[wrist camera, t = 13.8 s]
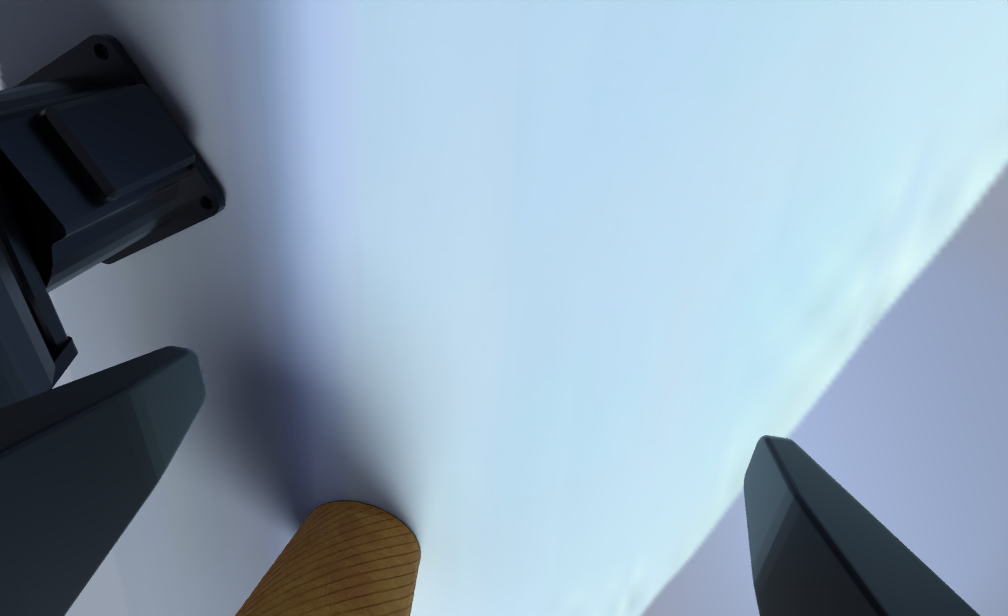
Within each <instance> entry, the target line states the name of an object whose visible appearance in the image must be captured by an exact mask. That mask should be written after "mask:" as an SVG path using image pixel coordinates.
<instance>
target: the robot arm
mask: <svg viewBox="0 0 1008 616" xmlns="http://www.w3.org/2000/svg"><path fill="white" fill-rule="evenodd" d="M103 45H104V46H105V47H106V48H107V50H108V52H109V57H108V56H107V55H106V54H105V53H104V51H103ZM206 197H208V198H209V199H210V200H211V201H212V203H213V205H210V204H209V203H208V202H207V200H206ZM224 207H225V199H224V196H223V194H222V193H221V191H220V190H219V188H218V187H217V185H216V184H215V182H214V181H213V179H212V178H211V177H210V175H209V174H208V172H207V171H206V169H205V168H204V166H203V165H202V163H201V162H200V160H199V159H198V157H197V156H196V154H195V153H194V151H193V150H192V148H191V147H190V145H189V144H188V143H187V141H186V140H185V138H184V137H183V135H182V134H181V132H180V131H179V129H178V128H177V126H176V125H175V123H174V122H173V120H172V119H171V117H170V116H169V114H168V113H167V111H166V110H165V109H164V107H163V106H162V104H161V103H160V101H159V100H158V98H157V97H156V95H155V94H154V92H153V91H152V89H151V88H150V86H149V85H148V83H147V82H146V80H145V79H144V77H143V76H142V75H141V73H140V72H139V70H138V69H137V67H136V66H135V64H134V63H133V61H132V60H131V58H130V57H129V55H128V54H127V52H126V51H125V49H124V48H123V46H122V45H121V44H120V42H119V41H118V40H117V39H116V38H115V37H113V36H111V35H109V34H98V35H93V36H90V37H89V38H87V39H86V40H84V41H83V42H81V43H80V44H78V45H77V46H75V47H74V48H72V49H71V50H69V51H68V52H66V53H65V54H63V55H62V56H60V57H59V58H57V59H56V60H54V61H53V62H51V63H50V64H48V65H47V66H45V67H44V68H42V69H41V70H39V71H38V72H36V73H35V74H33V75H32V76H30V77H29V78H27V79H26V80H24V81H23V82H21V83H20V84H18V85H17V86H15V87H14V88H10V89H5V90H1V91H0V616H65V614H66V613H67V611H68V610H69V608H70V607H71V606H72V604H73V603H74V601H75V600H76V599H77V597H78V596H79V594H80V593H81V591H82V590H83V589H84V587H85V586H86V584H87V583H88V581H89V580H90V579H91V577H92V576H93V575H94V573H95V572H96V570H97V569H98V567H99V566H100V565H101V563H102V562H103V560H104V559H105V557H106V556H107V555H108V553H109V552H110V550H111V549H112V548H113V546H114V545H115V543H116V542H117V541H118V539H119V538H120V536H121V535H122V534H123V532H124V531H125V529H126V528H127V526H128V525H129V524H130V522H131V521H132V519H133V518H134V517H135V515H136V514H137V512H138V511H139V509H140V508H141V507H142V505H143V504H144V502H145V501H146V500H147V498H148V497H149V495H150V494H151V492H152V491H153V489H154V488H155V486H156V485H157V483H158V482H159V480H160V479H161V477H162V475H163V474H164V472H165V470H166V469H167V467H168V465H169V463H170V462H171V460H172V458H173V456H174V454H175V453H176V451H177V449H178V447H179V446H180V444H181V442H182V440H183V439H184V437H185V435H186V433H187V431H188V430H189V428H190V426H191V424H192V423H193V421H194V419H195V417H196V416H197V414H198V412H199V410H200V408H201V407H202V405H203V403H204V400H205V395H206V387H205V383H204V379H203V375H202V370H201V366H200V362H199V358H198V355H197V354H196V352H195V351H194V350H192V349H188V348H181V347H175V346H167V347H164V348H161V349H159V350H156V351H153V352H151V353H148V354H145V355H142V356H140V357H137V358H134V359H132V360H129V361H126V362H124V363H121V364H118V365H116V366H113V367H110V368H107V369H105V370H102V371H99V372H97V373H94V374H91V375H89V376H86V377H83V378H81V379H78V380H75V381H73V382H70V383H67V384H65V385H62V386H59V387H57V388H54V389H52V388H53V387H54V385H55V384H56V382H57V381H58V380H59V378H60V377H61V376H62V374H63V373H64V371H65V370H66V369H67V368H68V366H69V365H70V363H71V362H72V361H73V359H74V358H75V357H76V355H77V354H78V351H77V349H76V347H75V344H74V342H73V340H72V338H71V337H69V336H67V335H66V333H65V330H64V328H63V326H62V324H61V321H60V319H59V317H58V314H57V312H56V310H55V307H54V305H53V303H52V301H51V298H50V296H49V294H48V293H49V292H50V291H52V290H54V289H56V288H57V287H59V286H61V285H62V284H64V283H66V282H68V281H69V280H71V279H73V278H74V277H76V276H78V275H80V274H81V273H83V272H85V271H86V270H88V269H90V268H92V267H93V266H95V265H97V264H98V263H100V262H102V263H105V264H111V263H114V262H116V261H118V260H120V259H122V258H124V257H126V256H129V255H131V254H133V253H135V252H137V251H139V250H141V249H143V248H146V247H148V246H150V245H152V244H154V243H156V242H158V241H160V240H163V239H165V238H167V237H169V236H171V235H173V234H175V233H177V232H180V231H182V230H184V229H186V228H188V227H190V226H192V225H194V224H197V223H199V222H201V221H203V220H205V219H207V218H209V217H211V216H214V215H215V214H217V213H219V212H220V211H221V210H223V209H224ZM744 497H745V507H746V517H747V527H748V536H749V547H750V556H751V567H752V575H753V583H754V589H755V595H756V600H757V605H758V609H759V614H760V616H980V615H978V613H976V611H975V610H973V609H972V608H971V607H970V606H969V605H968V604H967V603H966V602H965V601H964V600H963V599H962V598H961V597H959V596H958V595H957V594H956V593H955V592H954V591H953V590H952V589H951V588H950V587H949V586H948V585H947V584H945V582H944V581H942V580H941V579H940V578H939V577H938V576H937V575H936V574H935V573H934V572H933V571H932V570H931V569H930V568H929V567H928V566H926V565H925V564H924V563H923V562H922V561H921V560H920V559H919V558H918V557H917V556H915V554H914V553H912V552H911V551H910V550H909V549H908V548H907V547H906V546H905V545H904V544H903V543H902V542H901V541H899V539H898V538H896V537H895V536H894V535H893V534H892V533H891V532H890V531H889V530H888V529H887V528H886V527H885V526H884V525H883V524H882V523H881V522H879V521H878V520H877V519H876V518H875V517H874V516H873V515H872V514H871V513H870V512H869V511H868V510H867V509H866V508H864V507H863V506H862V505H861V504H860V503H859V502H858V501H857V500H856V499H855V498H854V497H853V496H852V495H851V494H850V493H848V492H847V491H846V490H845V489H844V488H843V487H842V486H841V485H840V484H839V483H838V482H837V481H836V480H835V479H833V478H832V477H831V476H830V475H829V474H828V473H827V472H826V471H825V470H824V469H823V468H822V467H821V466H820V465H819V464H817V463H816V462H815V461H814V460H813V459H812V458H811V457H810V456H809V455H808V454H807V453H806V452H805V451H804V450H803V449H801V448H800V447H799V446H798V445H797V444H796V443H795V442H794V441H792V440H791V439H788V438H782V437H775V436H769V435H765V436H762V437H761V438H760V439H759V441H758V442H757V445H756V447H755V450H754V453H753V455H752V458H751V461H750V463H749V466H748V468H747V471H746V474H745V478H744Z"/></svg>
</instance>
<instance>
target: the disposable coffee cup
mask: <svg viewBox="0 0 1008 616" xmlns="http://www.w3.org/2000/svg"><path fill="white" fill-rule="evenodd" d="M420 557H421V552H420V546H419V544H418V542H417V540H416V538H415V536H414V535H413V534H412V532H411V531H410V530H409V529H408V528H407V527H406V526H405V525H404V524H403V523H402V522H401V521H399V520H398V519H397V518H395V517H394V516H392V515H391V514H389V513H387V512H385V511H383V510H381V509H379V508H376V507H373V506H371V505H367V504H363V503H358V502H349V501H340V502H332V503H327V504H324V505H322V506H320V507H317V508H316V509H315V510H313V511H312V512H311V513H310V514H309V515H308V517H307V518H306V520H305V521H304V523H303V524H302V525H301V527H300V528H299V529H298V531H297V532H296V534H295V535H294V536H293V538H292V539H291V541H290V542H289V543H288V544H287V546H286V547H285V549H284V550H283V551H282V553H281V554H280V555H279V557H278V558H277V560H276V561H275V562H274V564H273V565H272V566H271V568H270V569H269V570H268V572H267V573H266V574H265V576H264V577H263V578H262V580H261V581H260V583H259V584H258V585H257V587H256V588H255V589H254V591H253V592H252V594H251V595H250V596H249V598H248V599H247V600H246V602H245V603H244V604H243V606H242V607H241V609H240V610H239V611H238V612H237V614H236V615H235V616H410V613H411V608H412V601H413V596H414V590H415V585H416V578H417V573H418V567H419V563H420Z"/></svg>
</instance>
